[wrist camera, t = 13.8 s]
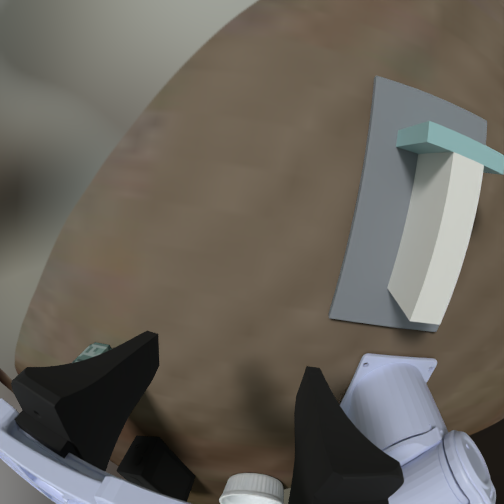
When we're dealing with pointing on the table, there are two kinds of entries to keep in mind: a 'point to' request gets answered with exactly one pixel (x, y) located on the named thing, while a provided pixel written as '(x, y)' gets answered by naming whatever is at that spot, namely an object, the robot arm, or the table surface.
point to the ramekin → (252, 490)
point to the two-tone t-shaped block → (438, 217)
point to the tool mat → (389, 202)
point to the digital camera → (156, 468)
